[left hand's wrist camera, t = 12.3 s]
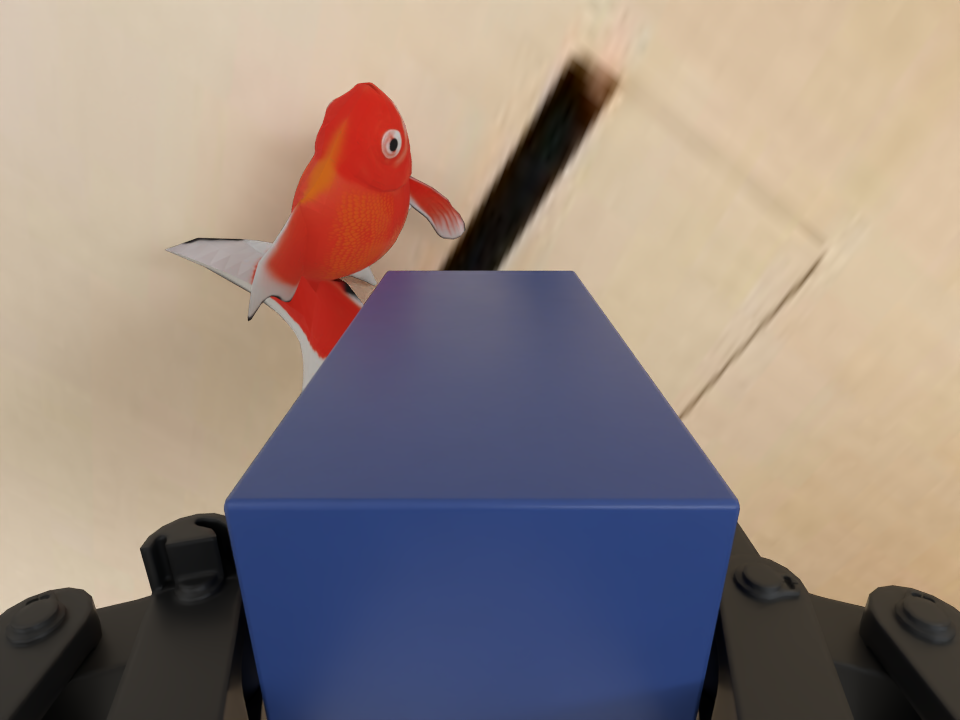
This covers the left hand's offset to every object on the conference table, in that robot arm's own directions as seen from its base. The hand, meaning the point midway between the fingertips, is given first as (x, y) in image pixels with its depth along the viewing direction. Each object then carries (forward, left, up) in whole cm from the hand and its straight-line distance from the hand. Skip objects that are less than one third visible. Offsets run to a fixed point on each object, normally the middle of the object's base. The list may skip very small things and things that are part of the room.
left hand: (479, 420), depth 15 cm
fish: (-3, -5, -14) cm, 16 cm away
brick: (0, 0, -2) cm, 2 cm away
